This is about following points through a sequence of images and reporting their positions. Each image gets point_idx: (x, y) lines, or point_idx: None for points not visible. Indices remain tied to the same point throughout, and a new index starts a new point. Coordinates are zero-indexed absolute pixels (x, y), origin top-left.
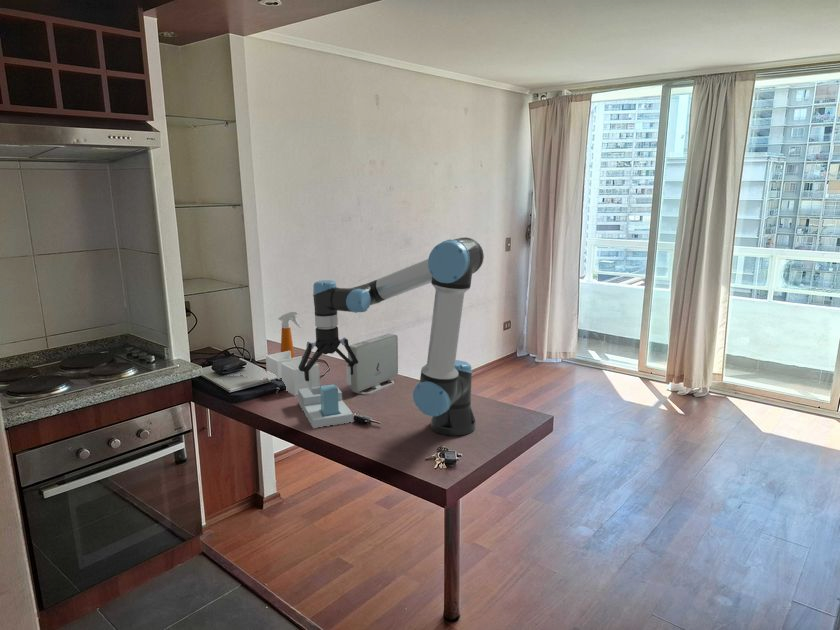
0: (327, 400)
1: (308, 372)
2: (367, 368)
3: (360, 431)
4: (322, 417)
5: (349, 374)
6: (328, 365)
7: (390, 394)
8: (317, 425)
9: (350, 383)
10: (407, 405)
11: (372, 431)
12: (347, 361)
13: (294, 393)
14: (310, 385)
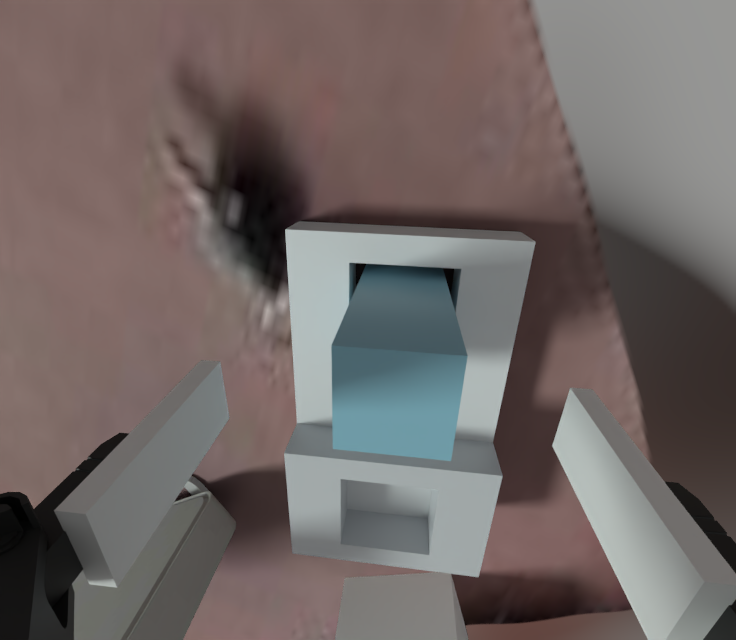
0: (429, 313)
1: (725, 597)
2: (93, 600)
3: (294, 70)
4: (467, 258)
5: (149, 429)
6: None
7: (86, 435)
8: (500, 232)
9: (200, 367)
10: (17, 299)
11: (227, 36)
12: (6, 624)
13: (452, 585)
14: (613, 425)
